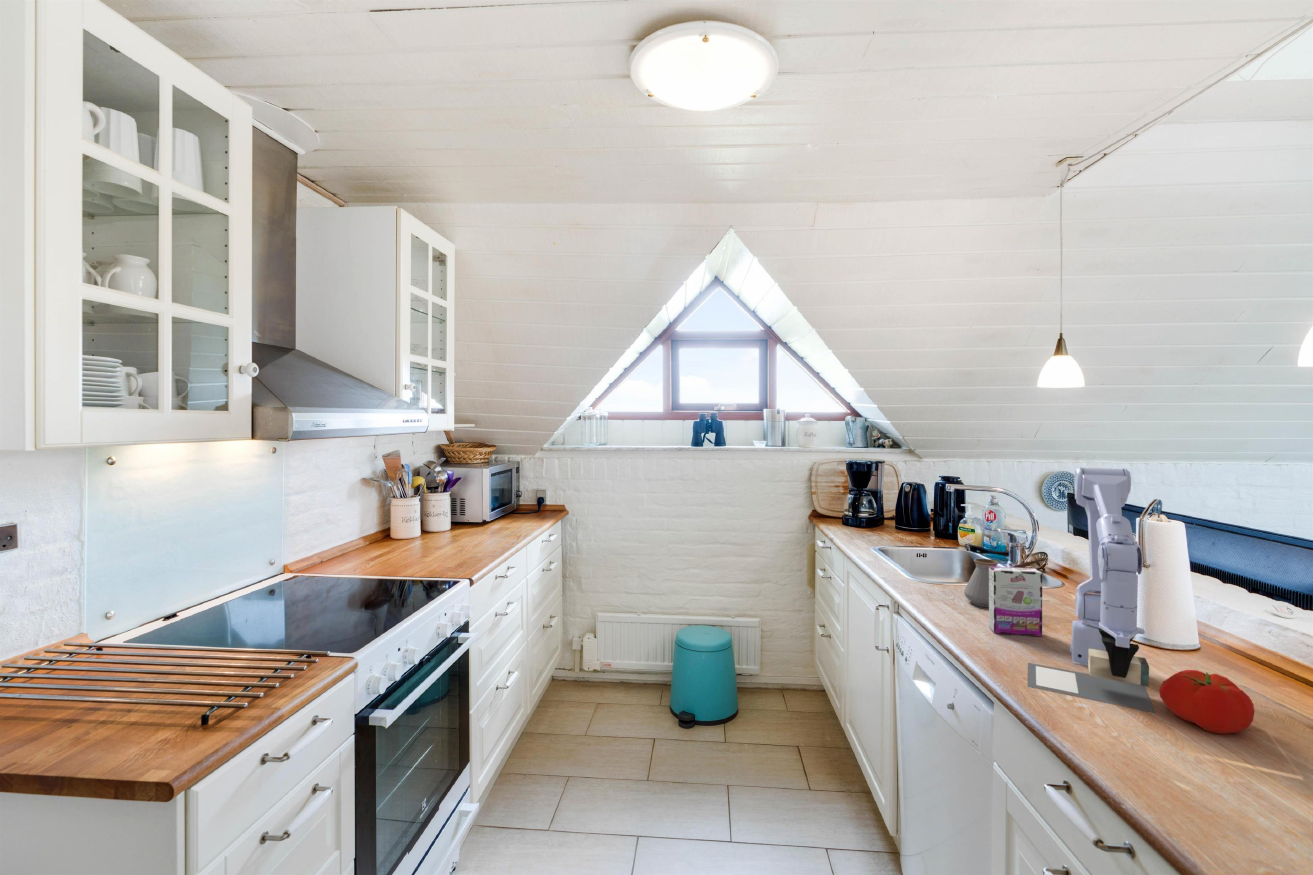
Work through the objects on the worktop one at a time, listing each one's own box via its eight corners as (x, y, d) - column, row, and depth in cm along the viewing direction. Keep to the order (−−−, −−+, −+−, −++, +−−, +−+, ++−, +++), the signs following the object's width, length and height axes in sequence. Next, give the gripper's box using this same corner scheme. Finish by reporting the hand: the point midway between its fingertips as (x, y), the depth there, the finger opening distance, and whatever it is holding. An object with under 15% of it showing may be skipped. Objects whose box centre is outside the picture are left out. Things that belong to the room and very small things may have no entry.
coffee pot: (965, 606, 171) (966, 556, 170) (961, 596, 181) (962, 548, 181) (1051, 616, 163) (1052, 562, 162) (1042, 604, 173) (1043, 554, 173)
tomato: (1157, 700, 113) (1158, 657, 113) (1248, 721, 105) (1249, 674, 105) (1160, 726, 103) (1161, 679, 103) (1260, 752, 95) (1261, 700, 95)
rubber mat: (1027, 688, 118) (1027, 685, 118) (1027, 664, 130) (1027, 661, 130) (1155, 714, 108) (1155, 712, 107) (1143, 686, 119) (1143, 683, 119)
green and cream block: (1089, 675, 117) (1090, 655, 116) (1088, 667, 120) (1088, 648, 120) (1148, 686, 112) (1149, 666, 112) (1144, 677, 116) (1145, 657, 115)
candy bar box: (1034, 630, 151) (1036, 567, 151) (1042, 637, 146) (1043, 572, 146) (987, 626, 154) (988, 565, 154) (993, 633, 149) (994, 569, 149)
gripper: (1151, 617, 107) (1149, 690, 108) (1138, 597, 120) (1137, 663, 120) (1103, 611, 111) (1101, 681, 112) (1096, 592, 123) (1094, 655, 124)
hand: (1117, 671), depth 116 cm, fingers closed on green and cream block, 4 cm apart
